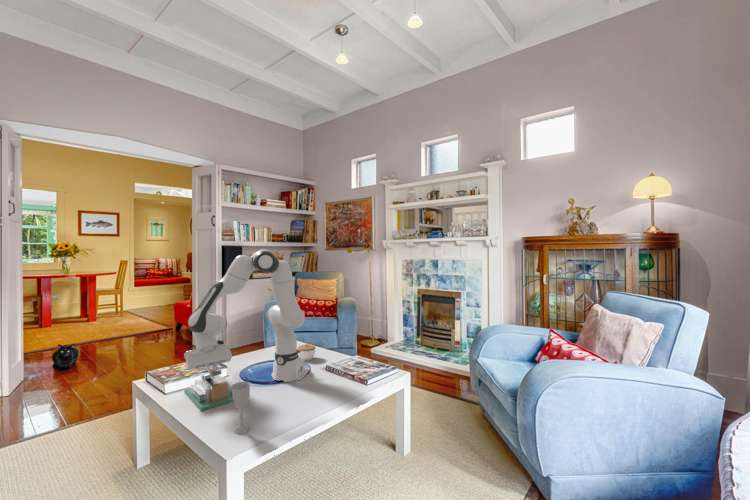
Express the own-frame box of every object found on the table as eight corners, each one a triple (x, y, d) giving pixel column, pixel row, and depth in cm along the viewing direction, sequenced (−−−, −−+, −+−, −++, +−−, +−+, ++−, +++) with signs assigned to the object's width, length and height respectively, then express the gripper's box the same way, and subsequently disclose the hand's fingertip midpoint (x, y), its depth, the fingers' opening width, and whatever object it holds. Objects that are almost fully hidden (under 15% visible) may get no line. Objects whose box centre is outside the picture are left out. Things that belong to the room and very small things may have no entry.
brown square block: (210, 401, 161) (210, 385, 161) (226, 396, 166) (226, 381, 165) (212, 402, 159) (211, 386, 159) (228, 398, 164) (227, 382, 164)
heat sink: (190, 392, 170) (189, 377, 170) (223, 383, 181) (222, 369, 180) (200, 403, 158) (200, 387, 158) (234, 393, 169) (234, 378, 169)
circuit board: (184, 392, 173) (184, 389, 173) (222, 382, 185) (222, 380, 185) (200, 411, 154) (200, 408, 154) (241, 398, 166) (241, 396, 166)
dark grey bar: (203, 379, 173) (202, 375, 174) (211, 377, 176) (211, 373, 177) (212, 376, 163) (212, 372, 163) (221, 373, 165) (221, 369, 166)
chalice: (234, 437, 133) (234, 390, 133) (229, 430, 139) (228, 384, 138) (254, 430, 138) (253, 385, 137) (247, 423, 143) (247, 380, 143)
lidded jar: (310, 355, 229) (309, 340, 229) (318, 359, 221) (318, 344, 220) (294, 358, 222) (294, 343, 222) (303, 363, 214) (303, 347, 213)
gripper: (184, 348, 166) (190, 374, 159) (228, 340, 179) (236, 364, 172) (181, 355, 169) (187, 381, 162) (225, 347, 183) (232, 371, 176)
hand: (213, 372), depth 167 cm, fingers closed, pressing on dark grey bar
